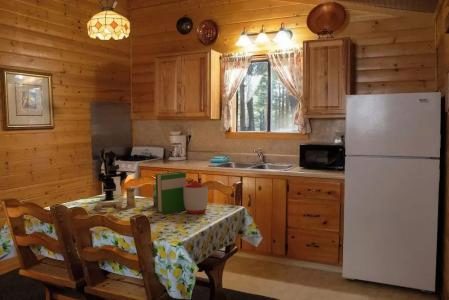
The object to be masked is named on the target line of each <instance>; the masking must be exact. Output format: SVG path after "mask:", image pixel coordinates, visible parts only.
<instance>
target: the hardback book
mask: <svg viewBox="0 0 449 300" xmlns="http://www.w3.org/2000/svg"><path fill="white" fill-rule="evenodd" d="M155 183H156V205H155V206H156V213H161V215H165V214H167V215H168V214H171V213H177V212H183V211H186V209H185V206H184V196H183V185H185V184H187V173H186V172H185V171H184V172H183V171H174V172H173V171H172V172H162V173H156V174H155Z"/></svg>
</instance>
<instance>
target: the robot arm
mask: <svg viewBox="0 0 449 300" xmlns="http://www.w3.org/2000/svg"><path fill="white" fill-rule="evenodd" d="M117 157H118V155H117V154H116V153H115V151H113V150H111V147H110V146H103V147H102V149H100V150H99V159H100V161H101V162H102V163H103V170H104V172H98V173H97V181H98V182H101V183H102V192H103V193H104V195H105V197H104V201H114V200H115V197H114V192H116V191H117V184H116V182H115V178H119V186H120V187H122V184H123V181H125V180H126V179H127V176H128V172H127V171H120V172H119V173H117V172H118V171H119V170H120V164H119V163H118V164H116V159H117Z"/></svg>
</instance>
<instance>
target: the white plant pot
mask: <svg viewBox="0 0 449 300" xmlns="http://www.w3.org/2000/svg"><path fill="white" fill-rule="evenodd" d="M208 186H209V184H205V185H204V186H203V184H202V183H200V182H198V181H197V180H194V181H192V183H186V184H185V185H183V196H184V206H185V209H186V210H185V211H186V213H188V214H192V215H197V214H203V213H205V212H206V211H207V206H208V203H209V202H208V200H209V199H208V197H209V196H208V193H209V192H210V189H209V188H208Z"/></svg>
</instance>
